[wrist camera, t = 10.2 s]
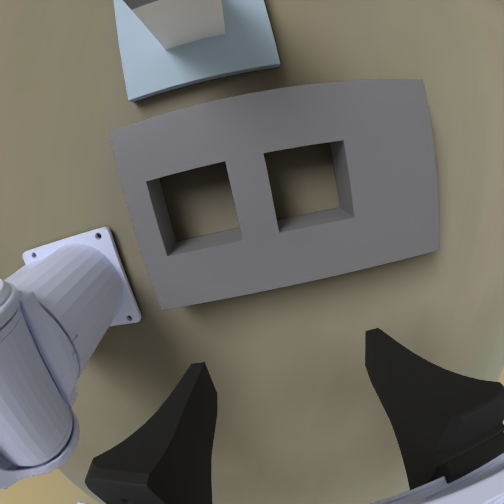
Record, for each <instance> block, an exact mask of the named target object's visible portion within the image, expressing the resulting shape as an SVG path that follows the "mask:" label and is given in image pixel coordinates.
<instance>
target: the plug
mask: <svg viewBox="0 0 504 504" xmlns="http://www.w3.org/2000/svg"><path fill="white" fill-rule="evenodd" d="M123 1H124V2H125V3H126V4H127V6H128V7H129V8H130V9H131V10H132V11H133V12H134V14H135V15H136V16H137V17H138V18H139V19H140V20H141V22H142V23H143V24H144V25H145V26H146V27H147V28H148V30H149V31H150V32H151V33H152V34H153V36H154V37H155V38H156V39H157V40H158V41H159V43H160V44H161V45H162V46H163V47H164V49H165V50H166V49H169V48H172V47H176V46H179V45H182V44H186V43H189V42H193V41H197V40H201V39H205V38H209V37H213V36H217V35H222V34H226V31H225V24H224V16H223V8H222V0H123Z"/></svg>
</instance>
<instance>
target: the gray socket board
mask: <svg viewBox="0 0 504 504" xmlns="http://www.w3.org/2000/svg"><path fill="white" fill-rule="evenodd" d="M109 135H110V139H111V144H112V148H113V153H114V157H115V161H116V165H117V170H118V174H119V177H120V181H121V185H122V189H123V193H124V196H125V200H126V204H127V207H128V211H129V214H130V218H131V221H132V224H133V228H134V231H135V234H136V237H137V241H138V244H139V247H140V250H141V253H142V256H143V259H144V262H145V265H146V268H147V271H148V274H149V277H150V280H151V283H152V285H153V288H154V291H155V294H156V296H157V299H158V302H159V305H160V307H161V310H166V309H172V308H177V307H183V306H189V305H194V304H200V303H205V302H211V301H216V300H221V299H227V298H232V297H237V296H242V295H247V294H252V293H257V292H262V291H267V290H272V289H277V288H281V287H286V286H291V285H295V284H300V283H305V282H309V281H314V280H318V279H323V278H327V277H332V276H336V275H340V274H345V273H349V272H353V271H358V270H362V269H366V268H370V267H374V266H378V265H383V264H387V263H391V262H395V261H399V260H403V259H406V258H410V257H414V256H418V255H422V254H426V253H430V252H433V251H437V250H439V198H438V181H437V168H436V157H435V148H434V140H433V132H432V126H431V119H430V113H429V107H428V102H427V97H426V91H425V87H424V82H423V80H420V79H376V80H353V81H338V82H327V83H316V84H307V85H299V86H292V87H284V88H278V89H271V90H265V91H259V92H254V93H248V94H243V95H238V96H233V97H228V98H224V99H219V100H215V101H211V102H206V103H202V104H198V105H194V106H190V107H187V108H183V109H179V110H176V111H172V112H169V113H165V114H162V115H159V116H155V117H152V118H149V119H146V120H143V121H140V122H136V123H134V124H131V125H128V126H125V127H122V128H119V129H116V130H114V131H111V132H109ZM327 142H330V146H331V152H332V158H333V164H334V170H335V177H336V183H337V190H338V197H339V205H340V208H335V209H330V210H325V211H320V212H315V213H309V214H304V215H299V216H294V217H289V218H284V219H279V220H277V219H276V213H275V208H274V203H273V198H272V193H271V188H270V183H269V178H268V173H267V168H266V163H265V158H264V153H268V152H273V151H278V150H284V149H290V148H295V147H301V146H308V145H314V144H320V143H327ZM224 161H225V162H226V167H227V171H228V176H229V180H230V185H231V189H232V194H233V198H234V203H235V207H236V212H237V216H238V220H239V225H240V228H236V229H231V230H227V231H222V232H217V233H213V234H208V235H204V236H199V237H195V238H190V239H186V240H181V241H177V242H176V238H175V235H174V231H173V228H172V224H171V221H170V217H169V213H168V210H167V206H166V202H165V199H164V195H163V191H162V187H161V183H160V179H159V178H160V177H164V176H167V175H171V174H175V173H179V172H183V171H187V170H191V169H195V168H199V167H203V166H207V165H211V164H215V163H220V162H224Z"/></svg>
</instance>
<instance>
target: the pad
mask: <svg viewBox="0 0 504 504" xmlns="http://www.w3.org/2000/svg"><path fill="white" fill-rule="evenodd" d="M114 8H115V17H116V25H117V33H118V40H119V47H120V53H121V60H122V66H123V72H124V78H125V83H126V89H127V94H128V100H129V101H132V102H135V101H138V100H141V99H144V98H147V97H150V96H154V95H157V94H160V93H163V92H167V91H170V90H173V89H177V88H181V87H184V86H188V85H192V84H196V83H200V82H204V81H208V80H212V79H217V78H221V77H226V76H231V75H236V74H241V73H246V72H252V71H258V70H264V69H270V68H277V67H279V65H280V60H279V56H278V52H277V48H276V44H275V40H274V36H273V32H272V29H271V25H270V21H269V18H268V14H267V10H266V7H265V3H264V0H222V8H223V16H224V24H225V31H226V34H222V35H217V36H213V37H209V38H205V39H201V40H197V41H193V42H189V43H186V44H182V45H179V46H176V47H172V48H169V49H166V50H165V49H164V47H163V46H162V45H161V44H160V43H159V41H158V40H157V39H156V38H155V37H154V36H153V34H152V33H151V32H150V31H149V30H148V28H147V27H146V26H145V25H144V24H143V23H142V22H141V20H140V19H139V18H138V17H137V16H136V15H135V14H134V12H133V11H132V10H131V9H130V8H129V7H128V6H127V4H126V3H125V2H124V1H123V0H114Z"/></svg>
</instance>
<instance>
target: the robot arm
mask: <svg viewBox="0 0 504 504" xmlns="http://www.w3.org/2000/svg"><path fill="white" fill-rule="evenodd" d="M97 233H100V234H101V238H99V237H98V236H97ZM34 253H35V254H36V256H35V255H34ZM23 259H24V262H25V264H26V265H25V266H23V267H22V268H21V269H19V270H18V271H16V272H15V273H14V274H12V275H11V276H10V277H8V278H7V279H6V280H2V279H0V489H7V488H8V487H10V486H11V485H13V484H14V483H16V482H17V481H19V480H21V479H23V478H25V477H29V476H35V475H41V474H45V473H48V472H51V471H53V470H55V469H57V468H58V467H60V466H61V465H62V464H64V463H65V462H66V461H67V460H68V459H69V458H70V456H71V455H72V453H73V452H74V450H75V448H76V446H77V443H78V440H79V433H80V430H79V423H78V420H77V417H76V416H75V414H74V412H73V410H72V409H71V407H72V405H73V403H74V401H75V400H76V398H77V396H78V394H77V392H76V388H75V385H76V382H77V380H78V378H79V376H80V375H81V373H82V371H83V369H84V368H85V366H86V364H87V363H88V361H89V359H90V357H91V356H92V354H93V352H94V351H95V349H96V347H97V346H98V344H99V342H100V341H101V339H102V337H103V336H104V334H105V332H106V331H107V329H108V328H109V326H116V325H123V324H130V323H137V322H139V321H140V320H141V317H142V316H141V313H140V310H139V308H138V305H137V303H136V300H135V298H134V295H133V293H132V290H131V287H130V285H129V282H128V279H127V277H126V274H125V271H124V268H123V266H122V263H121V260H120V257H119V254H118V251H117V248H116V245H115V242H114V239H113V236H112V233H111V230H110V229H109V228H108V227H102V228H98V229H95V230H91V231H88V232H85V233H81V234H78V235H75V236H71V237H68V238H65V239H62V240H59V241H55V242H52V243H49V244H46V245H43V246H40V247H37V248H34V249H31V250H28V251H26V252H24V253H23ZM128 316H131V317H132V319H131V318H129V317H128ZM365 366H366V368H367V371H368V374H369V377H370V380H371V383H372V385H373V387H374V389H375V391H376V393H377V395H378V397H379V399H380V401H381V403H382V405H383V407H384V409H385V411H386V413H387V415H388V417H389V419H390V421H391V424H392V426H393V429H394V432H395V435H396V438H397V441H398V444H399V447H400V451H401V454H402V457H403V461H404V465H405V469H406V473H407V477H408V482H409V487H410V491H407V492H404V493H402V494H399V495H396V496H393V497H390V498H387V499H384V500H381V501H378V502H374V503H371V504H503V503H504V425H503V423H502V422H503V420H504V386H503V385H502V384H501V383H500V382H492V381H485V380H479V379H475V378H470V377H466V376H463V375H460V374H457V373H454V372H451V371H448V370H446V369H443V368H441V367H439V366H437V365H435V364H432V363H430V362H428V361H427V360H425V359H423V358H421V357H420V356H418V355H416V354H414V353H413V352H411V351H410V350H408V349H407V348H405V347H404V346H402V345H401V344H400V343H398V342H397V341H395V340H394V339H393V338H391V337H390V336H389V335H387V334H386V333H384V332H383V331H382V330H380V329H379V328H376V329H372V330H369V331H366V352H365ZM216 417H217V392H216V389H215V387H214V385H213V382H212V380H211V377H210V375H209V372H208V370H207V367H206V365H205V362H203V363H194V364H191V366H190V367H189V368H188V370H187V371H186V373H185V374H184V376H183V377H182V379H181V380H180V382H179V383H178V385H177V386H176V387H175V389H174V390H173V392H172V393H171V394H170V396H169V397H168V398H167V400H166V401H165V402H164V403H163V405H162V406H161V407H160V408H159V409H158V411H157V412H156V413H155V414H154V415H153V416H152V417H151V418H150V419H149V420H148V421H147V422H146V423H145V424H144V425H143V426H142V427H140V428H139V429H138V430H137V431H136V432H134V433H133V434H132V435H131V436H130V437H128V438H127V439H125V440H124V441H123V442H121V443H120V444H118V445H117V446H115V447H113V448H112V449H110V450H108V451H106V452H104V453H103V454H101V455H99V456H97V457H95V458H93V460H92V463H91V465H90V468H89V471H88V473H87V476H86V479H85V484H86V485H87V487H88V488H89V489H90V490H91V491H92V492H93V493H94V494H95V495H97V496H98V497H99V498H100V499H101V500H103V501H104V502H105V503H107V504H212V487H211V457H212V447H213V440H214V432H215V425H216ZM77 504H87V503H83V502H78V503H77Z"/></svg>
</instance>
